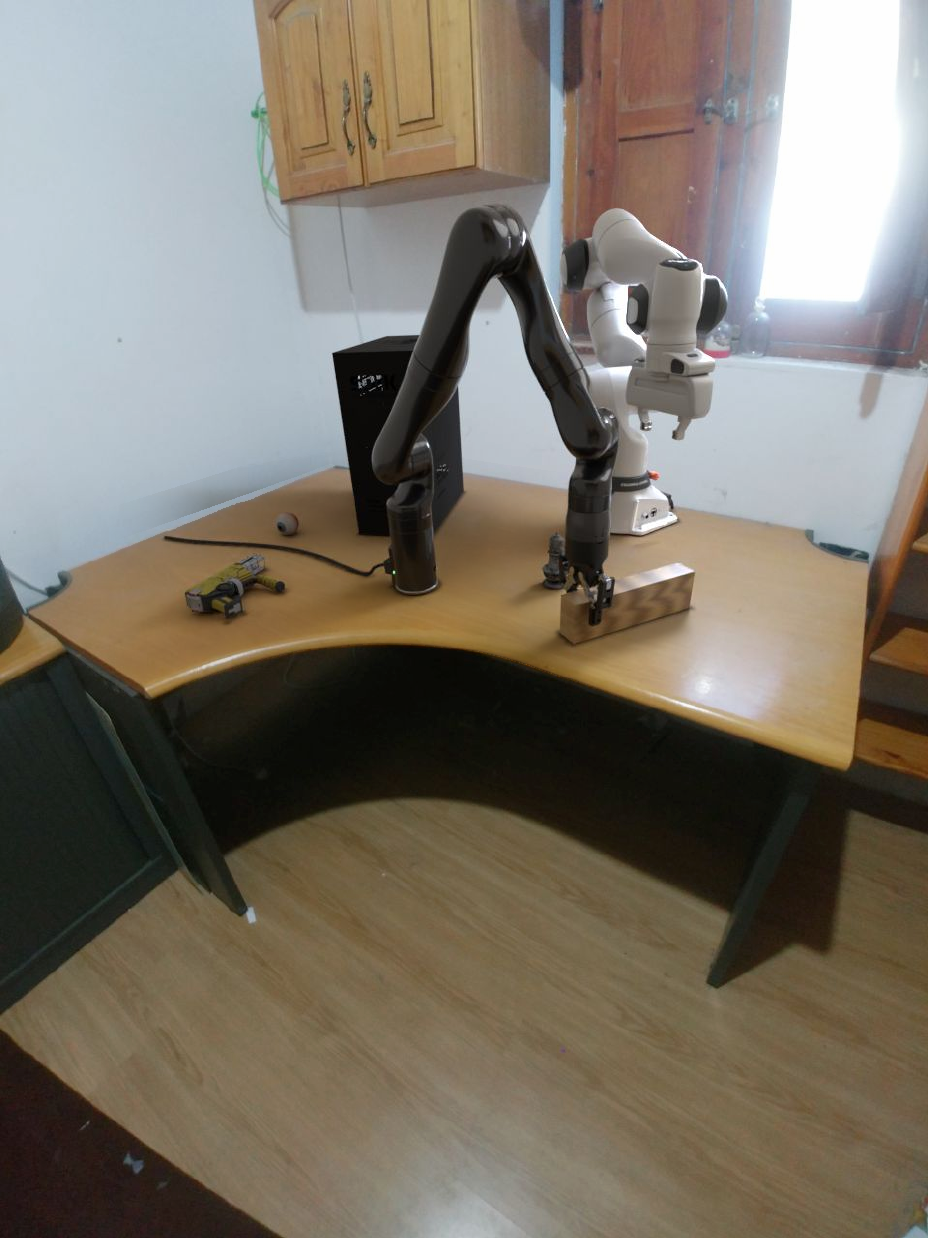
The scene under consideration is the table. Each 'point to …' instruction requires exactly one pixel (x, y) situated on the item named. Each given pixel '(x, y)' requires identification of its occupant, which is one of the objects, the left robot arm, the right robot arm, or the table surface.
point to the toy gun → (230, 587)
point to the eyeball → (287, 523)
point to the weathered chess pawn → (553, 562)
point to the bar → (629, 602)
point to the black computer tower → (369, 418)
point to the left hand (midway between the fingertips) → (583, 615)
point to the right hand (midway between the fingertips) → (661, 434)
